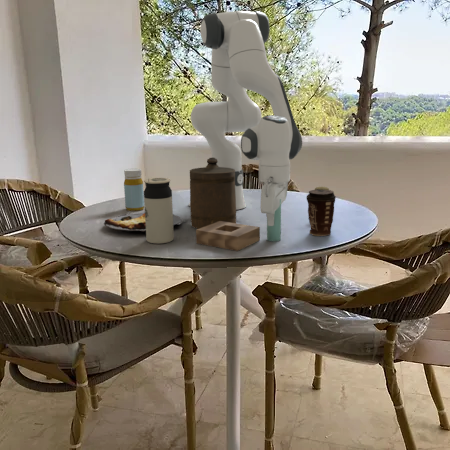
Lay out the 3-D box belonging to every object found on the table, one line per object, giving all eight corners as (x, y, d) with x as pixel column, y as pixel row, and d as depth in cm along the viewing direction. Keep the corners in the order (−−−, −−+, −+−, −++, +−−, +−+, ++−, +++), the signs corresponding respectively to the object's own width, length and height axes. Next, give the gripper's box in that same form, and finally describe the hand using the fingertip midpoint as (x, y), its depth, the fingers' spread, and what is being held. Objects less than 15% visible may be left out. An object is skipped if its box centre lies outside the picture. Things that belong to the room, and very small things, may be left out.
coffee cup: (316, 228, 154) (318, 187, 151) (339, 232, 148) (341, 190, 145) (300, 233, 148) (301, 191, 145) (324, 238, 142) (325, 195, 139)
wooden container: (216, 217, 170) (215, 154, 165) (245, 225, 159) (245, 157, 154) (181, 224, 161) (179, 157, 155) (210, 233, 150) (208, 161, 144)
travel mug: (174, 236, 147) (172, 177, 143) (172, 244, 139) (170, 181, 135) (148, 236, 147) (145, 177, 142) (144, 244, 139) (141, 182, 135)
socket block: (196, 243, 140) (195, 229, 139) (219, 233, 149) (219, 221, 148) (237, 251, 132) (237, 236, 131) (259, 240, 142) (259, 227, 141)
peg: (264, 239, 142) (264, 199, 139) (271, 236, 145) (271, 197, 142) (276, 242, 140) (277, 201, 137) (283, 238, 143) (283, 198, 140)
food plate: (133, 240, 143) (133, 228, 142) (90, 228, 159) (89, 217, 158) (195, 226, 161) (195, 215, 160) (150, 216, 177) (150, 206, 176)
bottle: (146, 207, 188) (143, 168, 184) (142, 211, 181) (140, 171, 177) (128, 207, 188) (125, 168, 184) (123, 211, 181) (121, 171, 177)
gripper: (278, 180, 127) (277, 232, 131) (291, 169, 146) (290, 214, 150) (254, 180, 129) (254, 230, 132) (270, 169, 148) (270, 213, 151)
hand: (273, 222), depth 141 cm, fingers open, 6 cm apart
